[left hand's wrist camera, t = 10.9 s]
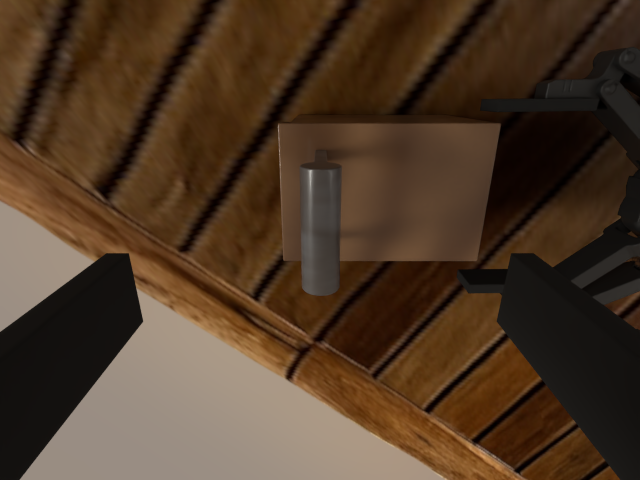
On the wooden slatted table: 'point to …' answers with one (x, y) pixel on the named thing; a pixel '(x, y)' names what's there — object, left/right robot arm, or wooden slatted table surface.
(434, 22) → the wooden slatted table surface
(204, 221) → the wooden slatted table surface
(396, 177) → the lid
